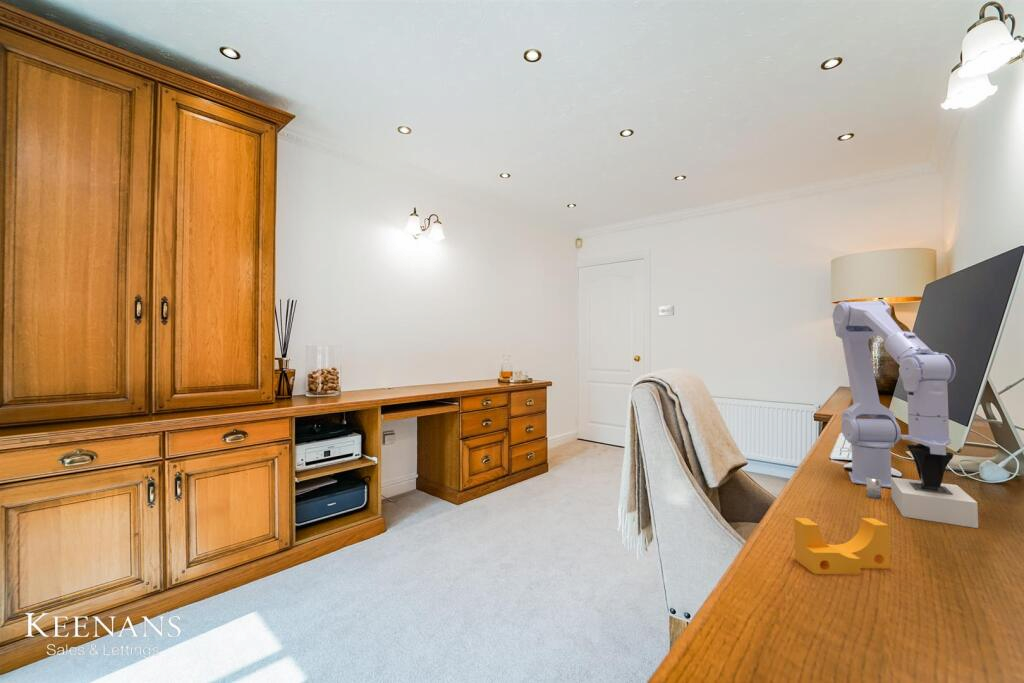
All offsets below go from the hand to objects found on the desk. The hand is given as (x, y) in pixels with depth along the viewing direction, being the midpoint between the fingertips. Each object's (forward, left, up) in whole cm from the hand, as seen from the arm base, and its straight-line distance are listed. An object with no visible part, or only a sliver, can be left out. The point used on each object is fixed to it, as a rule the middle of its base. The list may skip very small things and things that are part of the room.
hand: (930, 484), depth 84 cm
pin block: (0, 0, -5) cm, 5 cm away
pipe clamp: (+35, -16, -6) cm, 39 cm away
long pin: (0, 0, -2) cm, 2 cm away
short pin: (-5, -8, -5) cm, 11 cm away
